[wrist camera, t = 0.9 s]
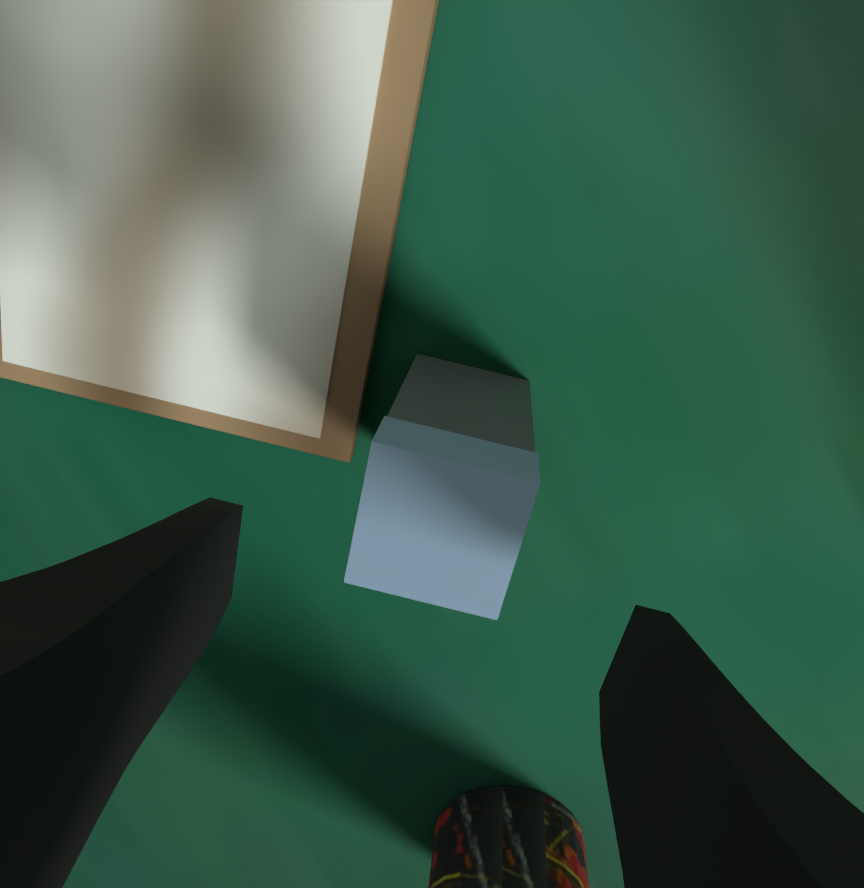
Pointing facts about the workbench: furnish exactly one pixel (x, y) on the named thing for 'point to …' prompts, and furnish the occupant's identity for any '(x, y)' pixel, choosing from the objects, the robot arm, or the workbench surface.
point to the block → (447, 489)
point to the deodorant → (507, 842)
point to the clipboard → (205, 203)
